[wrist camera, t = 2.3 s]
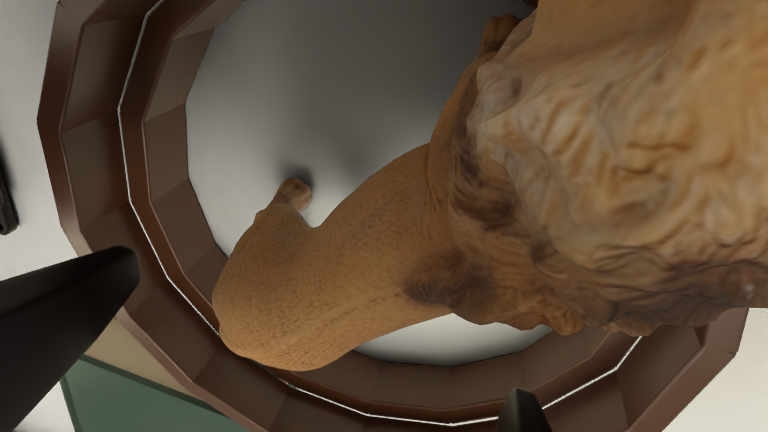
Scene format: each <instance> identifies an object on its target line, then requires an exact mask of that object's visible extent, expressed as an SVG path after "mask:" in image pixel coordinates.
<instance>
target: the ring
mask: <svg viewBox="0 0 768 432" xmlns="http://www.w3.org/2000/svg"><path fill="white" fill-rule="evenodd" d="M158 1H159V0H59V1H58V2H57V5H56V11H55V16H54V22H53V28H52V34H51V40H50V45H49V51H48V57H47V63H46V69H45V74H44V80H43V86H42V92H41V97H40V103H39V109H38V115H37V126H38V130H39V134H40V138H41V143H42V147H43V151H44V155H45V160H46V164H47V168H48V173H49V177H50V181H51V185H52V190H53V194H54V198H55V202H56V207H57V211H58V215H59V219H60V224H61V227H62V228H63V231H64V233H65V234H66V236H67V238H68V239H69V241H70V243H71V245H72V246H73V248H74V250H75V251H76V253H77V255H78V256H79V257H81V256H84V255H87V254H90V253H94V252H97V251H100V250H104V249H107V248H110V247H113V246H117V245H123V246H126V247H128V248H131V249H134V250H136V251H137V253H138V255H139V263H140V271H141V279H140V282H139V284H138V286H137V287H136V289H135V290H134V291H133V293H132V294H131V295H130V297H129V298H128V299H127V301H126V302H125V303H124V305H123V306H122V307H121V309H120V310H119V311H118V313H117V314H116V315H115V317H116V319H117V320H118V321H119V322H120V323H121V324H122V325H123V326H124V327H125V328H126V329H127V330H128V331H129V332H130V333H131V334H132V335H133V336H134V337H135V339H136V340H137V341H138V342H139V343H140V344H141V345H142V346H143V347H144V348H145V349H146V350H147V351H148V352H149V353H150V354H151V355H152V356H153V357H154V358H155V359H156V360H157V361H158V362H159V363H160V364H161V365H162V366H163V367H164V368H165V369H166V370H167V371H168V372H169V373H170V374H171V375H172V376H173V377H174V378H175V379H176V380H177V381H178V382H179V383H180V384H181V385H182V386H183V387H184V388H185V389H186V390H188V391H190V392H191V393H193V394H194V395H196V396H197V397H199V398H200V399H202V400H203V401H205V402H206V403H208V404H209V405H211V406H212V407H214V408H215V409H217V410H218V411H220V412H221V413H223V414H224V415H226V416H228V417H229V418H231V419H232V420H234V421H235V422H237V423H238V424H240V425H241V426H243V427H244V428H246V429H247V430H249V431H250V432H496V429H497V423H498V419H495V420H488V421H482V422H476V423H469V424H463V425H457V426H447V425H439V424H430V423H422V422H414V421H405V420H397V419H389V418H380V417H372V416H366V415H363V414H360V413H358V412H355V411H352V410H350V409H347V408H345V407H342V406H339V405H337V404H334V403H331V402H329V401H326V400H324V399H321V398H318V397H316V396H313V395H310V394H308V393H305V392H302V391H300V390H297V389H295V388H292V387H290V386H289V385H287V384H286V383H284V382H283V381H281V380H280V379H279V378H277V377H276V376H274V375H273V374H271V373H270V372H268V371H267V370H265V369H264V368H262V367H261V366H259V365H258V364H256V363H255V362H253V361H252V360H251V359H249V358H246V357H242V356H239V355H237V354H236V353H234V352H233V351H231V350H230V349H229V348H228V347H227V346H226V344H225V343H224V342H223V340H222V339H221V338H220V337H219V336H218V335H217V334H216V332H215V331H214V330H213V329H212V328H211V327H210V326H209V325H208V324H207V322H206V321H205V320H204V319H203V318H202V317H201V316H200V315H199V314H198V312H197V311H196V310H195V309H194V308H193V307H192V306H191V305H190V304H189V302H188V301H187V300H186V299H185V298H184V297H183V296H182V295H181V294H180V292H179V291H178V290H177V289H176V288H175V287H174V286H173V285H172V284H171V282H170V281H169V280H168V279H167V277H166V275H165V273H164V271H163V269H162V267H161V265H160V263H159V261H158V259H157V257H156V255H155V253H154V251H153V249H152V247H151V245H150V243H149V241H148V239H147V237H146V235H145V233H144V231H143V229H142V227H141V225H140V223H139V221H138V218H137V216H136V214H135V212H134V210H133V208H132V206H131V204H130V202H129V197H128V189H127V181H126V173H125V165H124V157H123V150H122V142H121V134H120V126H119V118H118V110H117V109H118V105H119V102H120V99H121V95H122V92H123V89H124V85H125V82H126V78H127V75H128V72H129V68H130V65H131V62H132V58H133V55H134V52H135V48H136V45H137V42H138V38H139V35H140V32H141V28H142V25H143V21H144V18H145V15H146V13H147V12H148V11H149V10H150V9H151V8H152V7H153V6H154V5H155V4H156V3H157V2H158ZM245 1H246V0H163V1H162V2H160V3H159V4H158V5H157V6H156V7H155V8H154V9H153V10H152V11H151V13H150V15H149V16H148V17H147V20H146V23H145V27H144V30H143V33H142V37H141V40H140V43H139V47H138V50H137V53H136V56H135V60H134V63H133V66H132V70H131V73H130V76H129V80H128V83H127V86H126V90H125V93H124V96H123V100H122V103H121V106H120V117H121V125H122V133H123V141H124V149H125V157H126V165H127V173H128V181H129V189H130V197H131V202H132V204H133V206H134V208H135V210H136V212H137V214H138V216H139V218H140V221H141V223H142V225H143V227H144V229H145V231H146V233H147V235H148V237H149V239H150V241H151V243H152V245H153V247H154V249H155V251H156V253H157V255H158V257H159V259H160V261H161V263H162V265H163V267H164V269H165V271H166V273H167V275H168V277H170V280H171V281H172V282H173V283H174V284H175V285H176V286H177V287H178V288H179V290H180V291H181V292H182V293H183V294H184V295H185V296H186V297H187V298H188V300H189V301H190V302H191V303H192V304H193V305H194V306H195V307H196V309H197V310H198V311H199V312H200V313H201V314H202V315H203V316H204V317H205V319H206V320H207V321H208V322H209V323H210V324H211V325H212V326H213V327H214V329H215V330H216V331H217V332H218V333H219V334H220V331H219V327H220V322H219V320H218V318H217V317H216V314H215V311H214V308H213V304H212V293H213V290H214V288H215V286H216V283H217V281H218V279H219V276H220V274H221V272H222V270H223V268H224V266H225V264H226V262H227V261H228V259H227V258H226V256H225V255H224V254H223V253H222V252H221V250H220V249H219V248H218V247H217V246H216V244H215V242H214V239H213V237H212V234H211V232H210V230H209V227H208V225H207V222H206V220H205V218H204V215H203V213H202V210H201V208H200V205H199V203H198V201H197V198H196V196H195V193H194V191H193V189H192V186H191V184H190V181H189V179H188V173H187V148H186V124H185V100H186V98H187V95H188V93H189V90H190V88H191V85H192V83H193V80H194V78H195V75H196V73H197V70H198V68H199V65H200V63H201V60H202V58H203V55H204V53H205V50H206V48H207V46H208V43H209V41H210V38H211V36H212V33H213V31H214V28H215V27H216V26H217V25H218V24H219V23H220V22H222V21H223V20H224V19H225V18H226V17H227V16H229V15H230V14H231V13H232V12H233V11H234V10H236V9H237V8H238V7H239V6H240V5H241V4H243V3H244V2H245ZM523 1H524V2H526V3H527V4H528V5H529V6H530V7H532V8H533V9H534V10H535V9H536V8H537V7H538V1H539V0H523ZM748 310H749V308H734V309H728V310H726V311H725V312H723V313H722V314H720V315H719V317H718V318H717V320H716V321H715V322H713V323H710V324H707V325H703V326H700V327H692V326H678V325H669V324H662V325H660V326H659V327H657V328H656V329H655V330H654V331H653V332H652V333H651V334H650V335H649V336H642V338H641V339H640V340H639V342H638V343H637V344H636V345H635V347H634V348H633V349H632V351H631V352H630V353H629V355H628V356H627V357H626V358H625V360H624V361H623V362H622V364H621V365H620V366H619V367H618V369H617V370H615V371H614V372H612V373H610V374H608V375H606V376H604V377H602V378H601V379H599V380H597V381H595V382H593V383H591V384H589V385H587V386H586V387H584V388H582V389H580V390H578V391H576V392H574V393H573V394H571V395H569V396H567V397H565V398H563V399H561V400H560V401H558V402H556V403H554V404H552V405H550V406H548V407H547V408H545V409H543V412H544V414H545V416H546V418H547V421H548V423H549V425H550V427H551V429H552V431H553V432H662V431H663V430H664V429H665V428H666V427H667V426H668V425H669V424H670V423H671V422H672V421H673V419H674V418H675V417H676V416H677V415H678V414H679V413H680V412H681V411H682V410H683V409H684V408H685V407H686V406H687V405H688V404H689V403H690V402H691V401H692V400H693V399H694V398H695V397H696V396H697V395H698V394H699V393H700V392H701V391H702V390H703V389H704V388H705V387H706V386H707V385H708V384H709V383H710V381H711V380H712V379H713V378H714V377H715V376H716V375H717V374H718V373H719V372H720V371H721V370H722V369H723V368H724V367H725V366H726V365H727V364H728V363H729V362H730V361H731V360H732V359H733V358H734V357H735V355H736V352H738V350H739V346H740V342H741V338H742V334H743V330H744V326H745V322H746V318H747V314H748ZM638 338H639V336H634V337H632V336H630V335H628V334H626V333H625V332H623V331H622V330H621V331H620V332H614V333H612V332H609V331H606V330H604V329H603V328H601V327H594V326H590V325H588V324H585V325H584V326H583V328H582V329H581V330H580V331H578V332H576V333H574V334H572V335H561V334H558V333H557V332H556V331H552V332H551V333H549V334H548V335H546V336H545V337H543V338H542V339H540V340H538V341H537V342H535V343H534V344H532V345H531V346H529V347H528V348H526V349H525V350H523V351H522V352H519V353H514V354H510V355H506V356H501V357H497V358H492V359H488V360H483V361H479V362H475V363H470V364H466V365H461V366H457V367H453V368H452V367H439V366H426V365H414V364H401V363H389V362H382V361H379V360H376V359H373V358H371V357H368V356H365V355H362V354H360V353H357V352H354V351H351V350H350V351H349V352H347V353H345V354H344V355H342V356H341V357H339V358H338V359H336V360H335V361H333V362H331V363H329V364H327V365H325V366H323V367H320V368H317V369H312V370H307V371H292V370H286V369H280V368H276V367H272V366H267V365H263V364H261V363H260V364H261V365H263V366H264V367H265V368H267V369H268V370H270V371H271V372H273V373H274V374H276V375H277V376H279V377H280V378H282V379H283V380H285V381H286V382H288V383H289V384H290V385H293V386H294V387H297V388H299V389H302V390H304V391H307V392H310V393H312V394H315V395H318V396H320V397H323V398H326V399H328V400H331V401H333V402H336V403H339V404H341V405H344V406H347V407H349V408H352V409H355V410H357V411H360V412H362V413H365V414H370V415H377V416H385V417H394V418H402V419H411V420H419V421H428V422H436V423H445V424H450V423H452V424H455V423H461V422H467V421H473V420H479V419H486V418H492V417H498V416H499V413H500V411H501V408H502V406H503V405H504V403H505V401H506V400H507V398H508V396H509V395H510V393H511V391H512V390H513V389H514V388H515V387H520V388H523V389H525V390H528V391H531V392H533V393H534V394H535V395H536V397H537V399H538V401H539V403H540V406H541V408H542V407H544V406H546V405H548V404H549V403H551V402H553V401H555V400H557V399H559V398H561V397H562V396H564V395H566V394H568V393H570V392H572V391H573V390H575V389H577V388H579V387H581V386H583V385H585V384H586V383H588V382H590V381H592V380H594V379H596V378H597V377H599V376H601V375H603V374H605V373H607V372H609V371H610V370H612V369H614V368H615V367H616V366H617V365H618V364H619V362H620V361H621V360H622V358H623V357H624V356H625V355H626V353H627V352H628V351H629V349H630V348H631V347H632V345H633V344H634V343H635V341H636V340H637V339H638ZM258 363H259V362H258Z"/></svg>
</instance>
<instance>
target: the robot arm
mask: <svg viewBox="0 0 768 432" xmlns="http://www.w3.org/2000/svg"><path fill="white" fill-rule="evenodd" d="M16 228H17V224H16V221H15V218H14V214H13V211H12V208H11V205H10V201H9V198H8V195H7V191H6V188H5V185H4V181H3V178H2V175H1V171H0V234H1V235H7V234H9V233H11V232H12V231H14V230H16ZM140 279H141V271H140V263H139V255H138V253H137V251H136V250H134V249H131V248H128V247H126V246H123V245H117V246H113V247H110V248H107V249H104V250H100V251H97V252H94V253H90V254H87V255H84V256H81V257H77V258H74V259H71V260H68V261H64V262H61V263H58V264H55V265H51V266H48V267H45V268H42V269H38V270H35V271H32V272H28V273H25V274H22V275H19V276H15V277H12V278H9V279H6V280H2V281H0V432H12V431H13V430H14V429H15V428H16V427H17V426H18V425H19V423H20V422H21V421H22V420H23V419H24V418H25V417H26V416H27V415H28V414H29V413H30V412H31V410H32V409H33V408H34V407H35V406H36V405H37V404H38V403H39V402H40V401H41V400H42V399H43V397H44V396H45V395H46V394H47V393H48V392H49V391H50V390H51V389H52V388H53V387H54V386H55V384H56V383H57V382H58V381H59V380H60V379H61V378H62V377H63V376H64V375H65V374H66V373H67V371H68V370H69V369H70V368H71V367H72V366H73V365H74V364H75V363H76V362H77V361H78V360H79V358H80V357H81V356H82V355H83V354H84V353H85V352H86V351H87V350H88V349H89V348H90V346H91V345H92V344H93V343H94V342H95V341H96V340H97V339H98V337H99V336H100V335H101V334H102V332H103V331H104V330H105V329H106V327H107V326H108V325H109V323H110V322H111V321H112V319H113V318H114V317H115V315H116V314H117V313H118V311H119V310H120V309H121V307H122V306H123V305H124V303H125V302H126V301H127V299H128V298H129V297H130V295H131V294H132V293H133V291H134V290H135V289H136V287H137V286H138V284H139V282H140ZM496 432H553V431H552V429H551V427H550V425H549V423H548V421H547V418H546V416H545V414H544V412H543V410H542V408H541V406H540V403H539V401H538V399H537V397H536V395H535V394H534V393H533V392H531V391H528V390H525V389H523V388H520V387H515V388H514V389H513V390H512V391H511V393H510V395H509V396H508V398H507V400H506V401H505V403H504V405H503V406H502V408H501V411H500V413H499V417H498V423H497V429H496Z"/></svg>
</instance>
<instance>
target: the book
mask: <svg viewBox="0 0 768 432" xmlns="http://www.w3.org/2000/svg"><path fill="white" fill-rule="evenodd" d="M249 359H251V358H249ZM251 360H252V361H253V362H255V363H256V364H258V365H259V366H261V367H262V368H264V369H265V370H267V371H268V372H270V373H271V374H273V375H274V376H276V377H277V378H279V379H280V380H281V381H283V382H284V383H286V384H287V385H289V386H290V387H292V388H295V389H296V387H294V386H293V385H290V384H289V383H288V382H286V381H285V380H283V379H282V378H280V377H279V376H277V375H276V374H274V373H273V372H271V371H270V370H268V369H267V368H265V367H264V366H263V365H261V364H260V363H258V362H257V361H255V360H253V359H251ZM59 382H60V385H61V388H62V391H63V395H64V398H65V401H66V404H67V407H68V411H69V414H70V417H71V420H72V424H73V427H74V430H75V432H250V431H249V430H247V429H246V428H244V427H243V426H241V425H240V424H238V423H237V422H235V421H234V420H232V419H231V418H229V417H228V416H226V415H224V414H223V413H221V412H220V411H218V410H217V409H215V408H214V407H212V406H211V405H209V404H208V403H206V402H205V401H203V400H202V399H200V398H199V397H197V396H196V395H194V394H193V393H191V392H190V391H188V390H186V389H185V388H184V387H183V386H182V385H181V384H180V383H179V382H178V381H177V380H176V379H175V378H174V377H173V376H172V375H171V374H170V373H169V372H168V371H167V370H166V369H165V368H164V367H163V366H162V365H161V364H160V363H159V362H158V361H157V360H156V359H155V358H154V357H153V356H152V355H151V354H150V353H149V352H148V351H147V350H146V349H145V348H144V347H143V346H142V345H141V344H140V343H139V342H138V341H137V340H136V339H135V337H134V336H133V335H132V334H131V333H130V332H129V331H128V330H127V329H126V328H125V327H124V326H123V325H122V324H121V323H120V322H119V321H118V320H117V319H116V317H114V318H113V319H112V321H111V322H110V323H109V325H108V326H107V327H106V329H105V330H104V331H103V332H102V334H101V335H100V336H99V337H98V339H97V340H96V341H95V342H94V343H93V344H92V345H91V346H90V348H89V349H88V350H87V351H86V352H85V353H84V354H83V355H82V356H81V357H80V358H79V360H78V361H77V362H76V363H75V364H74V365H73V366H72V367H71V368H70V369H69V370H68V371H67V373H66V374H65V375H64V376H63V377H62V378H61V379H60V380H59Z"/></svg>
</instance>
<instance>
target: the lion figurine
mask: <svg viewBox="0 0 768 432" xmlns="http://www.w3.org/2000/svg"><path fill="white" fill-rule="evenodd" d="M311 201H312V194H311V189H310V187H309V186H308V185H306V184H305V183H304V182H303V181H301V180H299V179H294V178H289V179H287V180H285V181H284V182H283V183H282V184H281V186H280V187H279V189H278V191H277V193H276V195H275V196H274V198H273V200H272V201H271V203H270V204H269V205H268V206H267V208H265V209H264V210H261V211H259V212H258V213H257V214H256V216H255V219H254V223H253V225H252V226H251V227H250V228H249V229H248V230H247V231H246V232H245V233H244V234H243V235H242V237H241V238H240V240H239V241H238V242H237V244H236V246H235V248H234V250H233V252H232V254H231V256H230V257H229V259H228V261H227V262H226V264H225V266H224V268H223V270H222V272H221V274H220V276H219V279H218V281H217V283H216V286H215V288H214V290H213V293H212V304H213V308H214V311H215V314H216V317H217V318H218V320H219V322H220V327H219V331H220V336H221V338H222V340H223V342H224V343H225V344H226V346H227V347H228V348H229V349H230V350H231V351H233V352H234V353H236V354H237V355H239V356H242V357H246V358H251V359H253V360H255V361H257V362H259V363H261V364H263V365H267V366H272V367H276V368H280V369H286V370H292V371H307V370H312V369H317V368H320V367H323V366H325V365H327V364H329V363H331V362H333V361H335V360H336V359H338V358H339V357H341V356H342V355H344V354H345V353H347V352H349V351H350V350H352V349H354V348H356V347H358V346H359V345H361V344H363V343H365V342H367V341H370V340H372V339H375V338H377V337H379V336H382V335H385V334H388V333H390V332H393V331H396V330H399V329H401V328H404V327H407V326H410V325H413V324H417V323H420V322H423V321H427V320H430V319H433V318H437V317H440V316H444V315H447V314H450V313H455V314H456V315H458V316H460V317H462V318H463V319H465V320H467V321H470V322H472V323H475V324H479V325H485V324H490V323H494V322H499V323H503V324H507V325H510V326H512V327H514V328H517V329H519V330H521V331H523V330H530V329H533V328H535V327H536V326H537V325H539V324H544V325H546V326H549V327H551V328H552V329H553V330H554V331H556V332H557V333H558V334H561V335H572V334H574V333H576V332H578V331H580V330H581V329H582V328H583V326H584V325H585V324H588V325H590V326H594V327H601V328H603V329H604V330H606V331H609V332H612V333H614V332H620V331H621V330H622V331H623V332H625V333H626V334H628V335H630V336H632V337H634V336H649V335H650V334H651V333H652V332H653V331H654V330H655V329H656V328H657V327H659V326H660V325H662V324H669V325H678V326H692V327H700V326H703V325H707V324H710V323H713V322H715V321H716V320H717V318H718V317H719V315H720V314H722V313H723V312H725V311H726V310H728V309H734V308H768V0H539V1H538V7H537V8H536V9H535V10H534V11H533V12H532V13H531V14H530V15H529V16H528V17H527V18H525V19H524V20H521V19H518V18H517V17H515V16H514V15H511V14H507V15H504V16H501V17H492V18H490V19H489V20H488V22H487V24H486V27H485V30H484V33H483V36H482V40H481V44H480V47H479V51H478V53H477V56H476V59H475V61H474V62H473V63H471V64H470V65H469V66H468V67H467V68H466V70H465V71H464V72H463V73H462V75H461V76H460V78H459V80H458V83H457V85H456V88H455V91H454V92H453V93H452V95H451V96H450V98H449V99H448V101H447V103H446V105H445V107H444V108H443V110H442V113H441V115H440V117H439V120H438V122H437V124H436V127H435V129H434V132H433V134H432V138H431V142H429V143H426V144H424V145H421V146H419V147H417V148H415V149H413V150H411V151H409V152H407V153H405V154H403V155H402V156H400V157H398V158H396V159H394V160H393V161H392V162H390V163H389V164H388V165H386V166H385V167H383V168H382V169H381V170H379V171H378V172H377V173H375V174H374V175H372V176H371V177H370V178H369V179H367V180H366V181H365V182H364V183H363V184H362V185H360V186H359V187H358V188H357V189H356V190H355V191H354V192H353V193H352V194H350V195H349V196H348V197H346V198H345V199H344V200H343V201H342V202H341V203H340V204H339V205H338V206H337V207H336V208H335V209H334V210H333V211H332V212H331V214H330V215H329V216H328V217H327V218H326V220H325V221H324V222H323V223H322V224H321V225H320V226H319V227H315V228H312V227H310V226H309V225H308V224H307V223H306V222H305V220H304V219H303V218H302V216H301V215H300V214H299V212H301V211H303V210H304V209H306V208H307V207H308V205H309V204H310V203H311Z"/></svg>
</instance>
